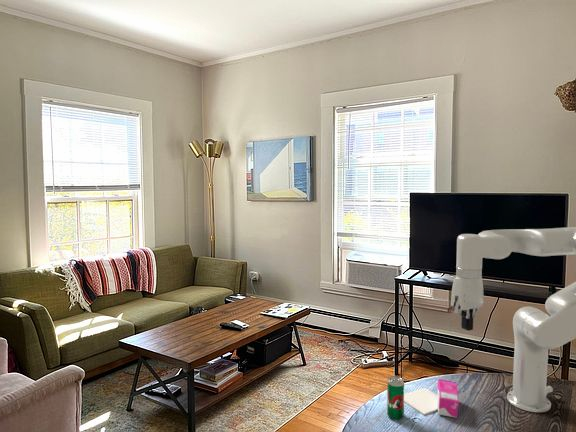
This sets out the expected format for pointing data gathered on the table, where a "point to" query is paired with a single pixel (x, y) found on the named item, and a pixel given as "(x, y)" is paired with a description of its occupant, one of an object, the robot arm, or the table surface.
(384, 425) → the table surface
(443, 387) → the supplement box
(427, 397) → the mat
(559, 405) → the table surface
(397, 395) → the soda can
